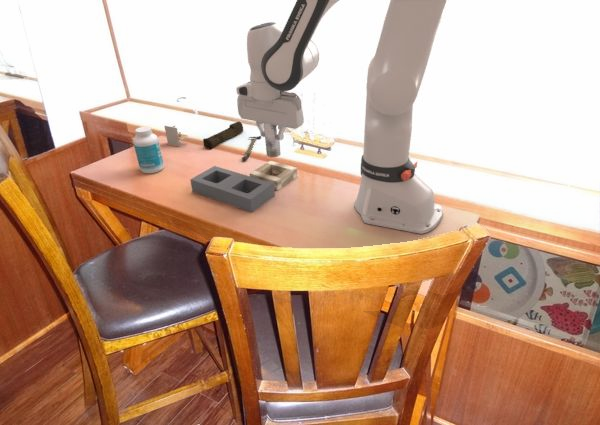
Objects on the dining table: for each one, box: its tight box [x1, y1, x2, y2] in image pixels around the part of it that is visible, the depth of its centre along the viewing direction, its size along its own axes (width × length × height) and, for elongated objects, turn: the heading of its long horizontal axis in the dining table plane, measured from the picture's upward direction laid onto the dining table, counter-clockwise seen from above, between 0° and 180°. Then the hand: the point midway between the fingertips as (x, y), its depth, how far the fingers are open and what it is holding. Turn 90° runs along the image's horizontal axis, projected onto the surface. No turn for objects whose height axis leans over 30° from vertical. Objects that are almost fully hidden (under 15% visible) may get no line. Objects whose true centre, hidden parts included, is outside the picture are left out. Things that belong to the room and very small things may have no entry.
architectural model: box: [164, 125, 188, 148], centre depth 154 cm, size 3×7×8 cm, turn 62°
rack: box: [189, 165, 275, 213], centre depth 123 cm, size 22×10×4 cm, turn 56°
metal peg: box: [263, 123, 281, 158], centre depth 123 cm, size 4×4×10 cm
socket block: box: [249, 160, 298, 191], centre depth 130 cm, size 10×10×3 cm
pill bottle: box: [132, 126, 165, 174], centre depth 136 cm, size 8×7×14 cm
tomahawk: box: [241, 135, 262, 161], centre depth 150 cm, size 21×7×1 cm, turn 173°
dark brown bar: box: [202, 121, 244, 150], centre depth 157 cm, size 19×4×5 cm, turn 143°
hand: (272, 137), depth 123 cm, fingers closed on metal peg, 4 cm apart
